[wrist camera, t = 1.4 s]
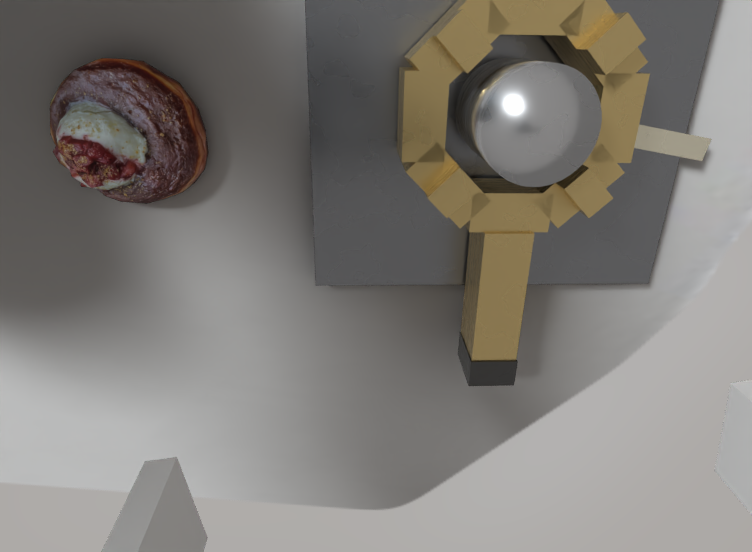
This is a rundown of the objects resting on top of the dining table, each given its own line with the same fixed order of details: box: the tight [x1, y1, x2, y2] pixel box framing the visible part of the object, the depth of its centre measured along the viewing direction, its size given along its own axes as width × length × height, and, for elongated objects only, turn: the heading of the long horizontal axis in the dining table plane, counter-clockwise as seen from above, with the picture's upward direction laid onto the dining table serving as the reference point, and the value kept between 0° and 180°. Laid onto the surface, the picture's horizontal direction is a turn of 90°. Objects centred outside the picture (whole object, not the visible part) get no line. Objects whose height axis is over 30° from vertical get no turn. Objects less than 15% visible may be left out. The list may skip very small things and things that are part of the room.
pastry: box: [50, 58, 208, 204], centre depth 26 cm, size 8×8×5 cm
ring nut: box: [397, 0, 650, 386], centre depth 27 cm, size 20×11×4 cm, turn 179°
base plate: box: [305, 0, 719, 285], centre depth 25 cm, size 21×20×7 cm
